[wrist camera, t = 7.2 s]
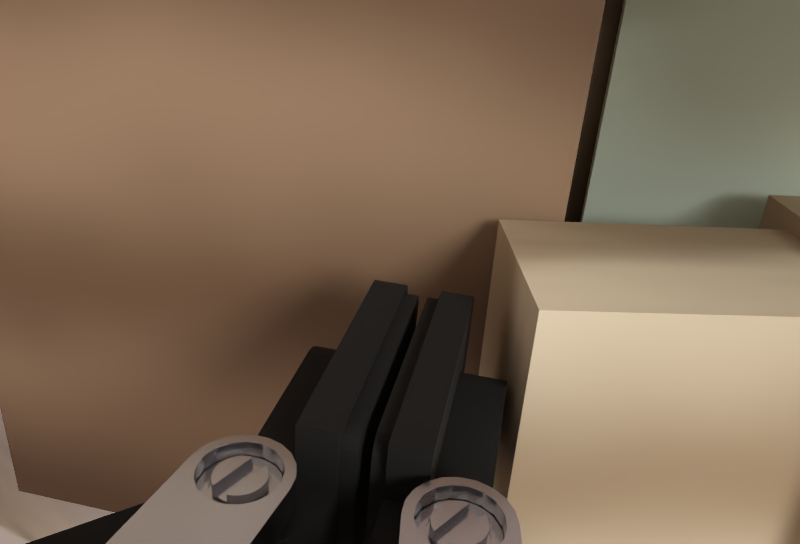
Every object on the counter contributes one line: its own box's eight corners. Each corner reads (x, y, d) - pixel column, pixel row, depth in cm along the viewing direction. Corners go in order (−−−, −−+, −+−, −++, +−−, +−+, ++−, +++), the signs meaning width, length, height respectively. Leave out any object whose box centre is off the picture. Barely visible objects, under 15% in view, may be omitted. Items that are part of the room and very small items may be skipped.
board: (1, -139, 14) (-126, -153, 12) (612, -94, 13) (623, -98, 10) (89, 418, 21) (19, 490, 18) (504, 503, 19) (493, 598, 16)
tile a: (499, 219, 12) (539, 309, 9) (787, 229, 12) (905, 319, 10) (468, 453, 14) (493, 579, 12) (712, 456, 15) (792, 579, 12)
